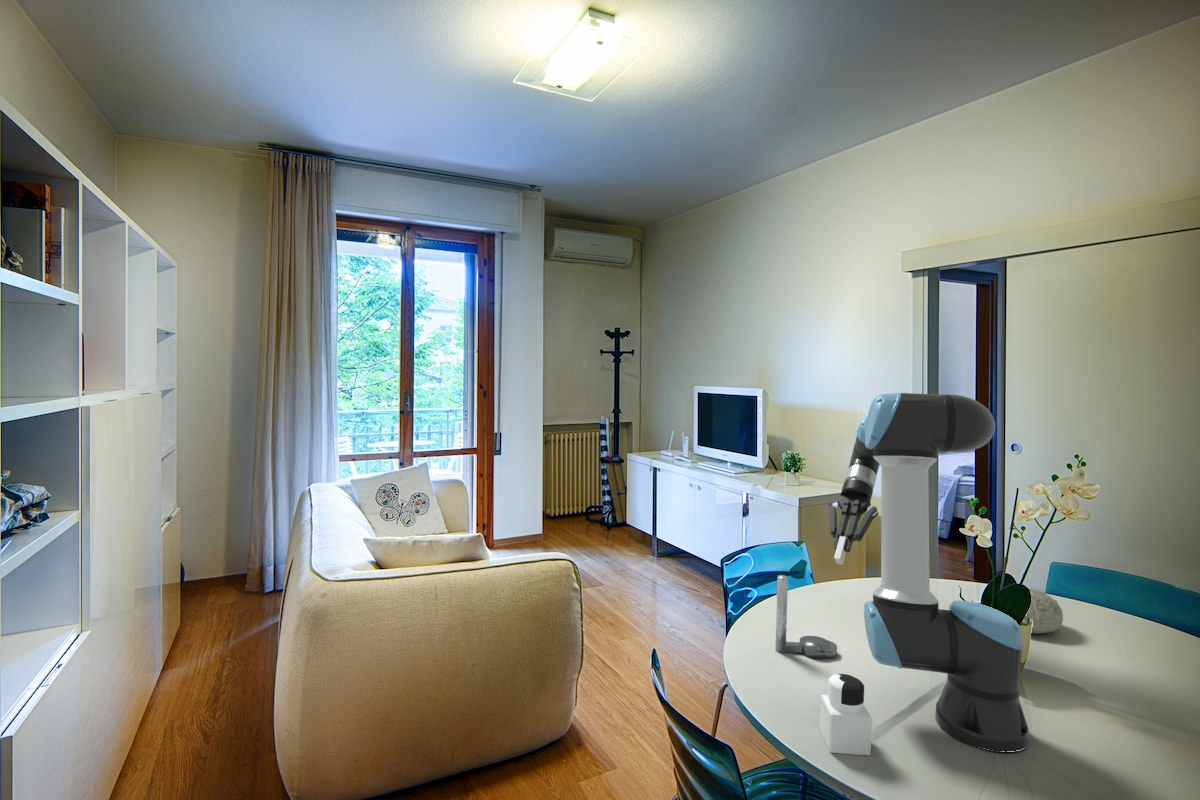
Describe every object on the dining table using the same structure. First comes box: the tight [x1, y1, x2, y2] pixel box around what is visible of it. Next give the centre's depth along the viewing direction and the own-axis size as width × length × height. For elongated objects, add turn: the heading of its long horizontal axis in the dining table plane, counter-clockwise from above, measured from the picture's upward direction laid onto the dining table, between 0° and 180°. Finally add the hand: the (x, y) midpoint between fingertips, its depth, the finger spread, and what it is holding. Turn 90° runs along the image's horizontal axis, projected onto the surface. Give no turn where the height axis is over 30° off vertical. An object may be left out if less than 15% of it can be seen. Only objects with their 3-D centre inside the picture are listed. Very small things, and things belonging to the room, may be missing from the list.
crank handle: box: [775, 574, 838, 660], centre depth 143 cm, size 14×7×18 cm, turn 85°
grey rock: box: [1027, 587, 1064, 634], centre depth 163 cm, size 18×18×10 cm
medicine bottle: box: [819, 673, 873, 756], centre depth 110 cm, size 7×7×12 cm
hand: (838, 561), depth 151 cm, fingers closed
